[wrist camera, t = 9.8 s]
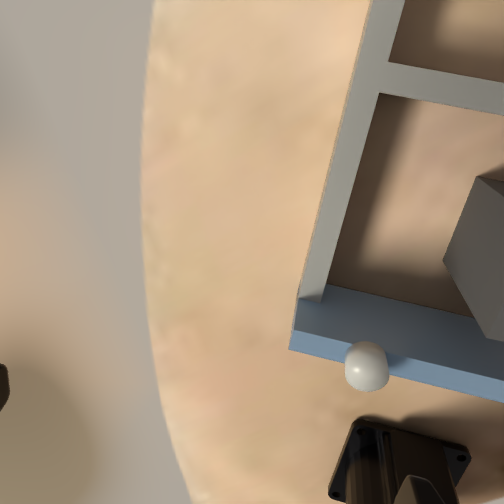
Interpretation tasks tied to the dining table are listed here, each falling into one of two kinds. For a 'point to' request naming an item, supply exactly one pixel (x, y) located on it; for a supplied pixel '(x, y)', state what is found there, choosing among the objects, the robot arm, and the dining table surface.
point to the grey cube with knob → (481, 255)
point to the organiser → (377, 307)
